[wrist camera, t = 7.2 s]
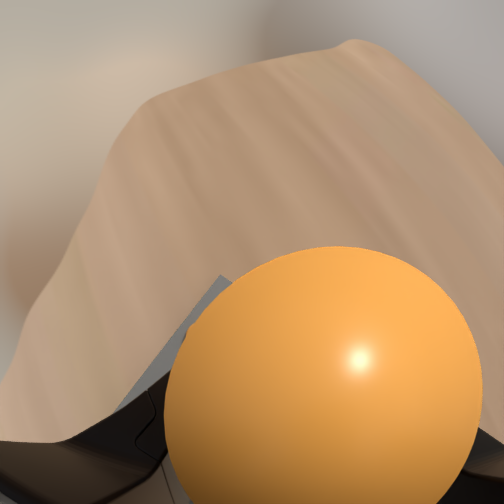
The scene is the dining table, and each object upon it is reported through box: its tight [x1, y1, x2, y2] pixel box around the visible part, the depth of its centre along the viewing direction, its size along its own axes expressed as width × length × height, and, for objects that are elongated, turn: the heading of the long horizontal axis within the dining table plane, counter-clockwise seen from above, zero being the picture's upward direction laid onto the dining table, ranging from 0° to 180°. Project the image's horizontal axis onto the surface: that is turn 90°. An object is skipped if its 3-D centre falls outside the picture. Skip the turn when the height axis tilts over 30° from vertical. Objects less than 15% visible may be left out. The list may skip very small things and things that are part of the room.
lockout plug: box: [164, 246, 483, 504], centre depth 9 cm, size 5×5×12 cm
